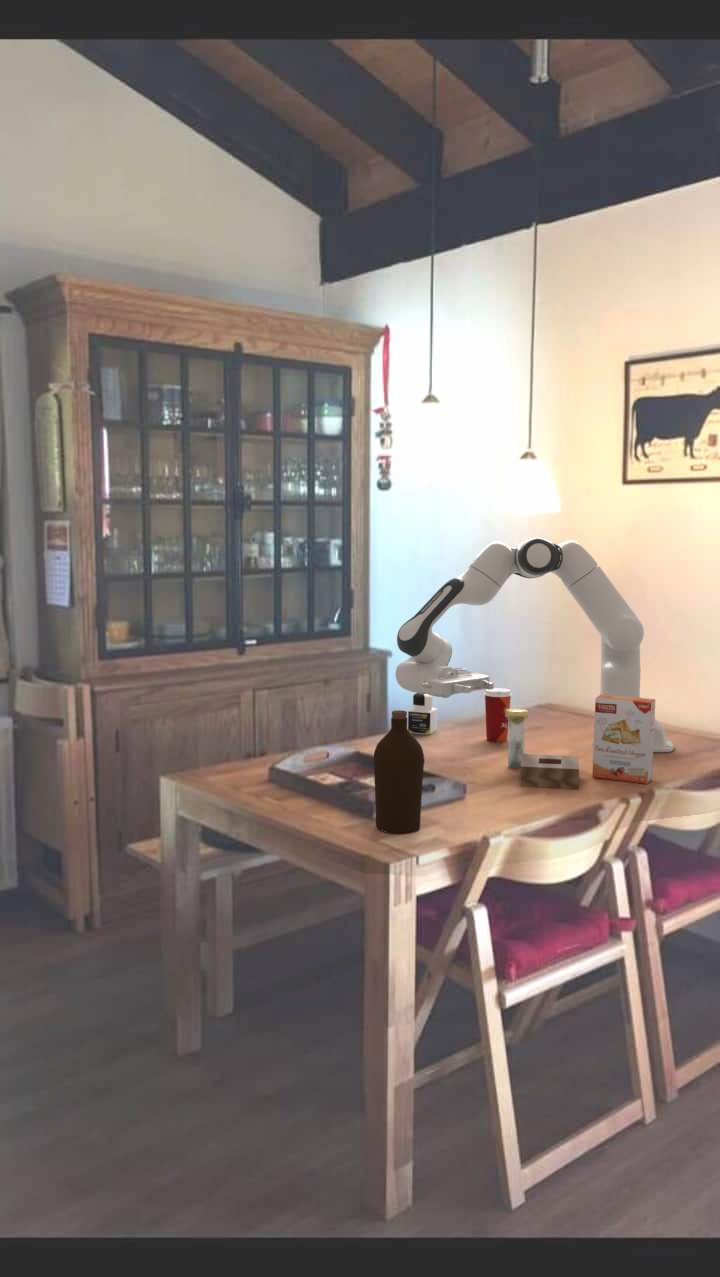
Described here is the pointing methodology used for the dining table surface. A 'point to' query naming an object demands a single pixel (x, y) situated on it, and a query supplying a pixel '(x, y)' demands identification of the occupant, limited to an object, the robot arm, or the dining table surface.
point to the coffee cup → (497, 713)
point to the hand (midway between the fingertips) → (481, 688)
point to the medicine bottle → (422, 715)
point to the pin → (516, 736)
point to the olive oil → (398, 778)
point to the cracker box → (623, 738)
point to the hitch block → (550, 771)
